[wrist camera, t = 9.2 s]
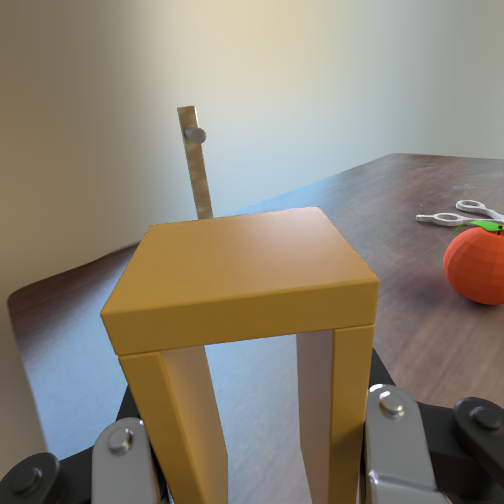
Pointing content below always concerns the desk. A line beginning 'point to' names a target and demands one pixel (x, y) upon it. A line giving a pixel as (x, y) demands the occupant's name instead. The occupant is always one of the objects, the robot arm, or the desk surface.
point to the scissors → (461, 220)
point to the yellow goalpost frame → (245, 328)
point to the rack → (195, 160)
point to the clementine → (477, 263)
